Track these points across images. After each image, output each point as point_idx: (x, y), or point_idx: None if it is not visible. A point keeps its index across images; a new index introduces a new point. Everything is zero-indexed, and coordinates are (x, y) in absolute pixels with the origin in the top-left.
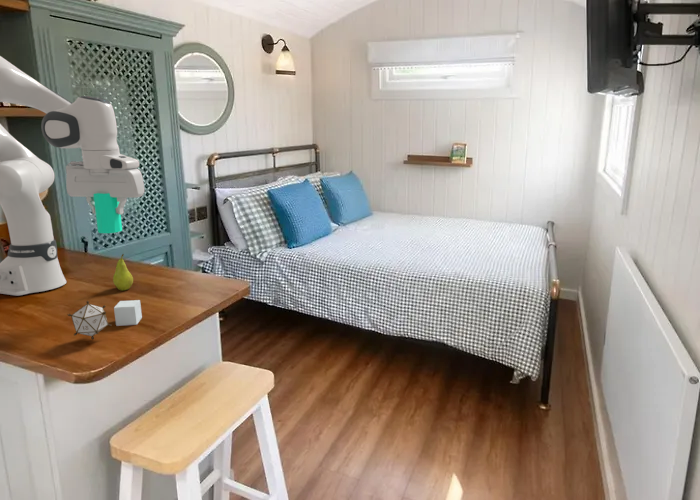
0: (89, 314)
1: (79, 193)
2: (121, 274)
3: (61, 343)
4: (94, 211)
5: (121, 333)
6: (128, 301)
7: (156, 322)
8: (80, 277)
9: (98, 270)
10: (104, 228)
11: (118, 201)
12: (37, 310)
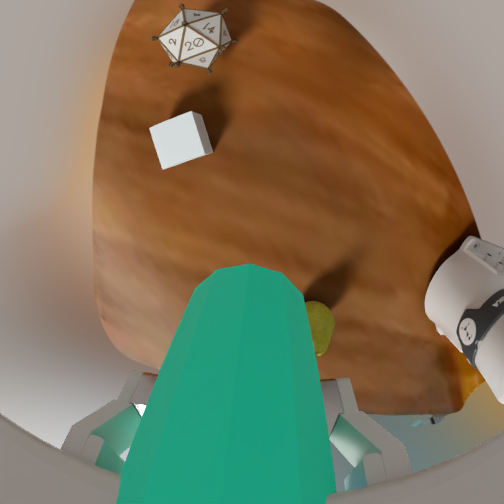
0: (176, 18)
1: (469, 475)
2: (311, 322)
3: (254, 30)
4: (334, 388)
5: (168, 86)
6: (182, 154)
7: (135, 148)
8: (416, 348)
9: (399, 378)
10: (234, 279)
11: (98, 436)
12: (416, 183)
